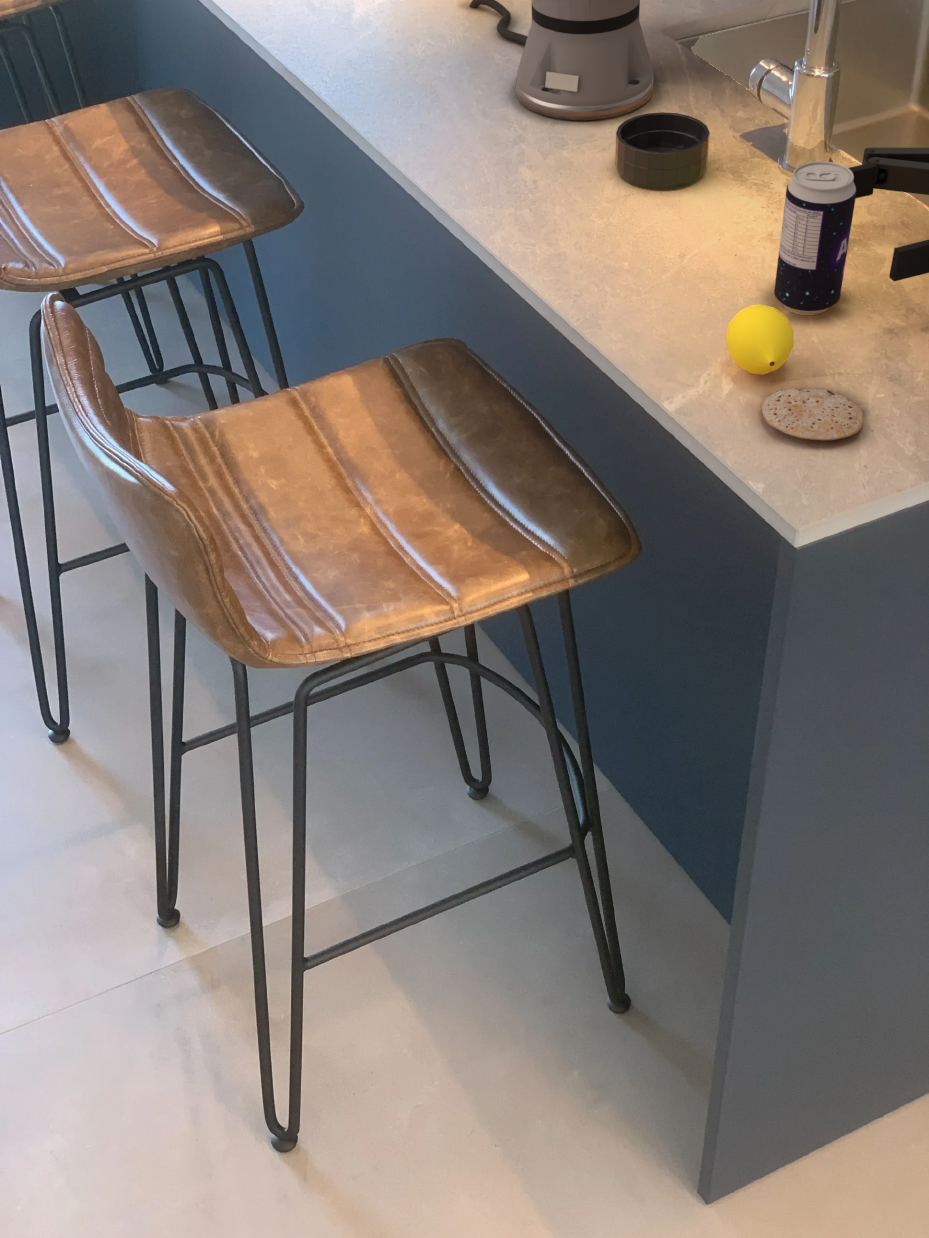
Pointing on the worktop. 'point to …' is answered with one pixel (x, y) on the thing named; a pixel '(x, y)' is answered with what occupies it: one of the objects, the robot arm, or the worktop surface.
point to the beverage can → (815, 237)
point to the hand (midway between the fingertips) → (849, 227)
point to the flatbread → (812, 414)
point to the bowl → (661, 150)
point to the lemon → (759, 339)
